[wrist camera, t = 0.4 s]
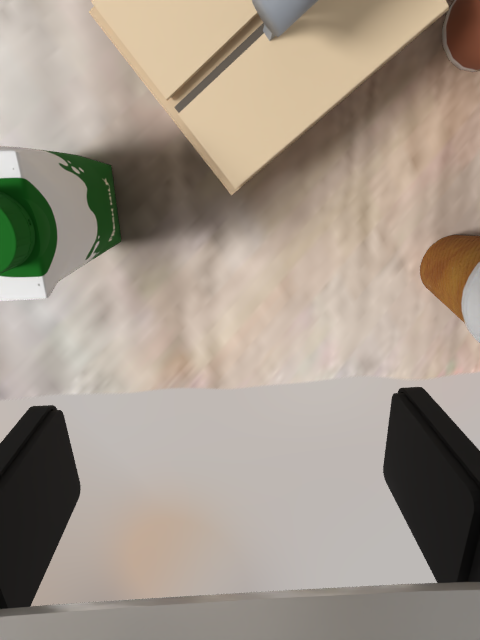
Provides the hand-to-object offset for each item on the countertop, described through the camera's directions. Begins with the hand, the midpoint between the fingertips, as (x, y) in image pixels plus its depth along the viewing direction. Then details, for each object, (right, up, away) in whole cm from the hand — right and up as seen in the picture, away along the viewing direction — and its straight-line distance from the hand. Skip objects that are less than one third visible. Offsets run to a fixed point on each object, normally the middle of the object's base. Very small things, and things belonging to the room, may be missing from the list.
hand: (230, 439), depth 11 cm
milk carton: (-15, +14, +26) cm, 33 cm away
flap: (+4, +20, +14) cm, 25 cm away
